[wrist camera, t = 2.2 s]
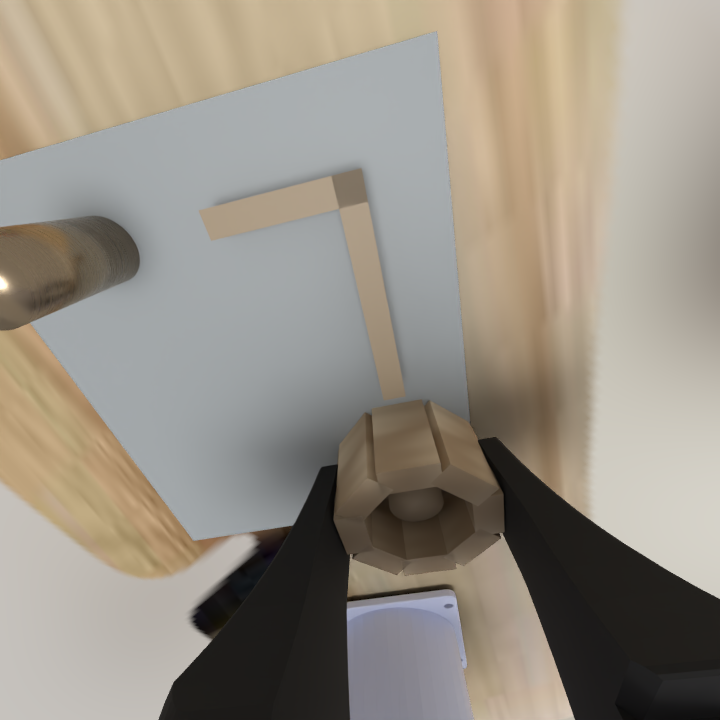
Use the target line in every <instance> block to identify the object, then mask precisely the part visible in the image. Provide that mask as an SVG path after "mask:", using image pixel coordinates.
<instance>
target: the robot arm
mask: <svg viewBox="0 0 720 720" xmlns="http://www.w3.org/2000/svg"><path fill="white" fill-rule="evenodd" d="M478 443H479V445H480V447H481V450H482V452H483V454H484V456H485V458H486V460H487V463H488V465H489V466H490V468H491V470H492V471H493V473H494V475H495V477H496V479H497V481H498V483H499V486H500V488H501V490H502V492H503V494H504V530H505V532H503V535H504V537H505V540H506V542H507V544H508V546H509V548H510V550H511V552H512V554H513V556H514V559H515V561H516V563H517V565H518V567H519V569H520V571H521V573H522V576H523V578H524V580H525V583H526V585H527V587H528V590H529V593H530V595H531V598H532V601H533V603H534V606H535V609H536V611H537V614H538V617H539V619H540V622H541V625H542V627H543V630H544V633H545V636H546V638H547V641H548V644H549V647H550V649H551V652H552V655H553V657H554V660H555V663H556V666H557V669H558V672H559V675H560V677H561V680H562V683H563V686H564V689H565V692H566V694H567V697H568V700H569V703H570V706H571V709H572V712H573V715H574V718H575V720H720V599H718V598H716V597H715V596H713V595H711V594H709V593H707V592H705V591H703V590H701V589H699V588H698V587H696V586H694V585H692V584H690V583H689V582H687V581H685V580H683V579H682V578H680V577H678V576H676V575H675V574H673V573H671V572H669V571H668V570H666V569H664V568H663V567H661V566H659V565H658V564H656V563H655V562H653V561H651V560H650V559H648V558H647V557H645V556H643V555H642V554H640V553H638V552H637V551H635V550H634V549H632V548H630V547H629V546H627V545H626V544H624V543H622V542H621V541H619V540H618V539H617V538H615V537H614V536H612V535H611V534H609V533H608V532H606V531H605V530H603V529H602V528H600V527H599V526H598V525H596V524H595V523H594V522H592V521H591V520H589V519H588V518H587V517H585V516H584V515H583V514H581V513H580V512H579V511H577V510H576V509H575V508H573V507H572V506H571V505H570V504H568V503H567V502H566V501H565V500H563V499H562V498H561V497H560V496H559V495H557V494H556V493H555V492H554V491H553V490H551V489H550V488H549V487H548V486H547V485H545V484H544V483H543V482H542V481H541V480H540V479H539V478H538V477H537V476H535V475H534V474H533V473H532V472H531V471H530V470H529V469H528V468H527V467H526V466H525V465H523V464H522V463H521V462H520V461H519V460H518V459H517V458H516V457H515V456H514V455H513V454H512V453H511V452H510V451H509V450H508V449H507V448H506V447H505V446H504V445H503V443H502V442H501V441H500V440H499V439H497V438H496V437H493V438H487V439H481V440H478ZM337 473H338V464H335V465H329V466H324V467H321V468H320V470H319V472H318V475H317V477H316V479H315V482H314V484H313V486H312V488H311V491H310V493H309V495H308V497H307V499H306V501H305V503H304V505H303V507H302V509H301V511H300V513H299V515H298V517H297V519H296V521H295V523H294V525H293V527H292V529H291V530H290V532H289V534H288V536H287V537H286V539H285V541H284V543H283V544H282V546H281V548H280V549H279V551H278V553H277V554H276V556H275V558H274V559H273V561H272V562H271V564H270V565H269V567H268V568H267V570H266V571H265V573H264V574H263V576H262V577H261V579H260V580H259V581H258V583H257V584H256V586H255V587H254V588H253V590H252V591H251V593H250V594H249V595H248V597H247V598H246V599H245V601H244V602H243V603H242V605H241V606H240V607H239V609H238V610H237V611H236V612H235V613H234V615H233V616H232V617H231V618H230V620H229V621H228V622H227V623H226V624H225V626H224V627H223V628H222V629H221V631H220V632H219V633H218V634H217V635H216V637H215V638H214V639H213V640H212V641H211V642H210V644H209V645H208V646H207V647H206V648H205V649H204V650H203V651H202V652H201V654H200V655H199V656H198V657H197V658H196V659H195V660H194V661H193V662H192V663H191V664H190V666H189V667H188V668H187V669H186V670H185V671H184V672H183V673H182V674H181V675H180V676H179V677H178V678H177V679H176V680H175V681H174V683H173V685H172V687H171V690H170V692H169V694H168V696H167V699H166V701H165V703H164V706H163V709H162V712H161V714H160V717H159V720H474V717H473V712H472V707H471V703H470V698H469V693H468V689H467V684H466V680H465V675H464V670H463V669H465V668H466V667H467V661H466V655H465V648H464V642H463V636H462V630H461V624H460V618H459V611H458V605H457V599H456V595H455V592H454V591H452V590H449V589H444V590H436V591H428V592H420V593H413V594H405V595H397V596H389V597H381V598H374V599H366V600H358V601H350V602H347V591H348V576H349V561H350V554H349V555H347V552H346V550H345V547H344V545H343V543H342V540H341V538H340V535H339V533H338V530H337V528H336V525H335V523H334V520H333V519H334V505H335V495H336V488H337Z"/></svg>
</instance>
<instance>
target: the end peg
mask: <svg viewBox="0 0 720 720" xmlns="http://www.w3.org/2000/svg"><path fill="white" fill-rule="evenodd" d="M139 266H140V255H139V251H138V248H137V246H136V244H135V242H134V240H133V239H132V237H131V236H130V235H129V233H128V232H127V231H126V230H125V229H124V228H123V227H121V226H120V225H119V224H117V223H116V222H114V221H112V220H110V219H108V218H105V217H101V216H85V217H77V218H69V219H61V220H53V221H44V222H36V223H28V224H20V225H12V226H4V227H0V330H12V329H16V328H19V327H21V326H23V325H26V324H28V323H30V322H33V321H35V320H37V319H40V318H42V317H44V316H47V315H49V314H51V313H54V312H56V311H58V310H61V309H63V308H65V307H68V306H70V305H72V304H75V303H77V302H79V301H82V300H84V299H86V298H89V297H91V296H93V295H96V294H98V293H100V292H103V291H105V290H107V289H110V288H112V287H114V286H117V285H119V284H121V283H124V282H126V281H128V280H130V279H132V278H133V277H134V276H135V275H136V273H137V272H138V269H139Z"/></svg>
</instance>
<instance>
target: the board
mask: <svg viewBox="0 0 720 720" xmlns="http://www.w3.org/2000/svg"><path fill="white" fill-rule="evenodd" d="M85 216H101V217H105V218H108V219H110V220H112V221H114V222H116V223H117V224H119V225H120V226H121V227H123V228H124V229H125V230H126V231H127V232H128V233H129V235H130V236H131V237H132V239H133V240H134V242H135V244H136V246H137V248H138V251H139V255H140V266H139V269H138V272H137V273H136V275H135V276H134V277H133V278H132V279H130V280H128V281H126V282H124V283H121V284H119V285H117V286H114V287H112V288H110V289H107V290H105V291H103V292H100V293H98V294H96V295H93V296H91V297H89V298H86V299H84V300H82V301H79V302H77V303H75V304H72V305H70V306H68V307H65V308H63V309H61V310H58V311H56V312H54V313H51V314H49V315H47V316H44V317H42V318H40V319H37V320H35V321H33V322H30V323H31V325H32V326H33V327H34V329H35V330H36V331H37V333H38V334H39V335H40V337H41V338H42V339H43V341H44V342H45V343H46V345H47V346H48V347H49V349H50V350H51V351H52V353H53V354H54V355H55V357H56V358H57V359H58V361H59V362H60V363H61V365H62V366H63V367H64V369H65V370H66V371H67V373H68V374H69V375H70V377H71V378H72V379H73V381H74V382H75V383H76V385H77V386H78V387H79V389H80V390H81V391H82V393H83V394H84V395H85V397H86V398H87V399H88V401H89V402H90V403H91V405H92V406H93V407H94V409H95V410H96V411H97V413H98V414H99V415H100V417H101V418H102V419H103V421H104V422H105V423H106V425H107V426H108V427H109V429H110V430H111V431H112V433H113V434H114V435H115V437H116V438H117V439H118V441H119V442H120V443H121V445H122V446H123V447H124V449H125V450H126V451H127V453H128V454H129V455H130V457H131V458H132V459H133V461H134V462H135V463H136V465H137V466H138V467H139V469H140V470H141V471H142V473H143V474H144V475H145V477H146V478H147V479H148V481H149V482H150V483H151V485H152V486H153V487H154V489H155V490H156V491H157V493H158V494H159V495H160V497H161V498H162V499H163V501H164V502H165V503H166V505H167V506H168V507H169V509H170V510H171V511H172V513H173V514H174V515H175V517H176V518H177V519H178V521H179V522H180V523H181V525H182V526H183V527H184V529H185V530H186V531H187V533H188V534H189V535H190V537H191V538H192V539H193V541H195V540H201V539H208V538H214V537H221V536H227V535H233V534H240V533H246V532H253V531H259V530H266V529H272V528H279V527H285V526H292V525H294V523H295V521H296V519H297V517H298V515H299V513H300V511H301V509H302V507H303V505H304V503H305V501H306V499H307V497H308V495H309V493H310V491H311V488H312V486H313V484H314V482H315V479H316V477H317V475H318V472H319V470H320V468H321V467H324V466H329V465H335V464H337V463H338V450H339V444H340V443H341V442H342V441H343V439H344V438H345V437H346V436H347V434H348V433H349V432H350V431H351V429H352V428H353V427H354V425H355V424H356V423H357V422H358V420H359V419H360V418H361V417H362V415H363V414H364V413H365V412H366V413H368V414H370V415H372V408H377V407H382V406H387V405H393V404H398V403H403V402H409V401H414V400H420V399H422V402H423V405H424V406H425V405H426V404H427V403H428V401H429V400H430V401H432V402H434V403H436V404H437V405H439V406H441V407H443V408H445V409H446V410H448V411H450V412H452V413H454V414H456V415H457V416H459V417H461V418H463V419H465V420H466V421H468V422H469V424H470V413H469V402H468V390H467V378H466V366H465V354H464V343H463V331H462V319H461V307H460V296H459V284H458V272H457V260H456V248H455V237H454V225H453V213H452V201H451V190H450V178H449V166H448V154H447V142H446V131H445V119H444V107H443V95H442V84H441V72H440V60H439V48H438V36H437V31H436V32H433V33H429V34H426V35H422V36H419V37H416V38H412V39H409V40H406V41H402V42H399V43H395V44H392V45H389V46H385V47H382V48H379V49H375V50H372V51H368V52H365V53H362V54H358V55H355V56H351V57H348V58H345V59H341V60H338V61H335V62H331V63H328V64H324V65H321V66H318V67H314V68H311V69H308V70H304V71H301V72H297V73H294V74H291V75H287V76H284V77H281V78H277V79H274V80H270V81H267V82H264V83H260V84H257V85H253V86H250V87H247V88H243V89H240V90H237V91H233V92H230V93H226V94H223V95H220V96H216V97H213V98H210V99H206V100H203V101H199V102H196V103H193V104H189V105H186V106H183V107H179V108H176V109H172V110H169V111H166V112H162V113H159V114H156V115H152V116H149V117H145V118H142V119H139V120H135V121H132V122H128V123H125V124H122V125H118V126H115V127H112V128H108V129H105V130H101V131H98V132H95V133H91V134H88V135H85V136H81V137H78V138H74V139H71V140H68V141H64V142H61V143H58V144H54V145H51V146H47V147H44V148H41V149H37V150H34V151H30V152H27V153H24V154H20V155H17V156H14V157H10V158H7V159H3V160H0V227H4V226H12V225H20V224H28V223H36V222H44V221H53V220H61V219H69V218H77V217H85ZM470 426H471V425H470ZM388 498H389V507H390V510H391V512H392V513H393V515H394V516H396V517H397V518H399V519H401V520H404V521H409V522H419V521H424V520H427V519H430V518H432V517H434V516H435V515H437V514H438V513H439V512H440V511H441V509H442V507H443V504H444V500H443V496H442V492H441V489H440V488H438V487H431V488H425V489H419V490H412V491H406V492H400V493H393V494H389V495H388Z"/></svg>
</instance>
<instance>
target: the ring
mask: <svg viewBox="0 0 720 720" xmlns="http://www.w3.org/2000/svg"><path fill="white" fill-rule="evenodd" d="M337 464H338V473H337V488H336V495H335V505H334V519H333V520H334V523H335V525H336V528H337V530H338V533H339V535H340V538H341V540H342V543H343V545H344V547H345V550H346V552H347V555H349V554H353V559H354V560H357V561H360V562H362V563H365V564H368V565H371V566H373V567H376V568H379V569H381V570H384V571H387V572H390V573H392V574H395V575H397V574H398V573H400V572H401V571H402V570H403V572H404V575H405V576H407V575H414V574H422V573H429V572H437V571H444V570H452V569H456V563H458V564H460V565H463V566H465V565H466V564H467V563H469V562H470V561H471V560H473V559H474V558H475V557H477V556H478V555H479V554H481V553H482V552H483V551H485V550H486V549H487V548H489V547H490V546H491V545H493V544H494V543H495V542H496V541H498V540H499V539H500V538H501V536H500V534H499V533H503V532H505V530H504V494H503V492H502V490H501V488H500V486H499V483H498V481H497V479H496V477H495V475H494V473H493V471H492V470H491V468H490V466H489V465H488V463H487V460H486V458H485V456H484V454H483V452H482V450H481V447H480V445H479V443H478V439H477V436H476V434H475V432H474V430H473V428H472V427H471V426H470V424H469V422H468V421H466V420H465V419H463V418H461V417H459V416H457V415H456V414H454V413H452V412H450V411H448V410H446V409H445V408H443V407H441V406H439V405H437V404H436V403H434V402H432V401H430V400H429V401H428V403H427V404H426V405H425V406H424V405H423V402H422V399H420V400H414V401H409V402H403V403H398V404H393V405H387V406H382V407H377V408H372V415H370V414H368V413H366V412H365V413H364V414H363V415H362V417H361V418H360V419H359V420H358V422H357V423H356V424H355V425H354V427H353V428H352V429H351V431H350V432H349V433H348V434H347V436H346V437H345V438H344V439H343V441H342V442H341V443H340V444H339V450H338V463H337ZM431 487H438V488H440V489H441V492H442V496H443V500H444V504H443V507H442V509H441V511H440V512H439V513H438V514H437V515H435V516H434V517H432V518H430V519H427V520H424V521H419V522H409V521H404V520H401V519H399V518H397V517H396V516H394V515H393V513H392V512H391V510H390V507H389V498H388V495H389V494H393V493H400V492H406V491H412V490H419V489H425V488H431Z"/></svg>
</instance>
